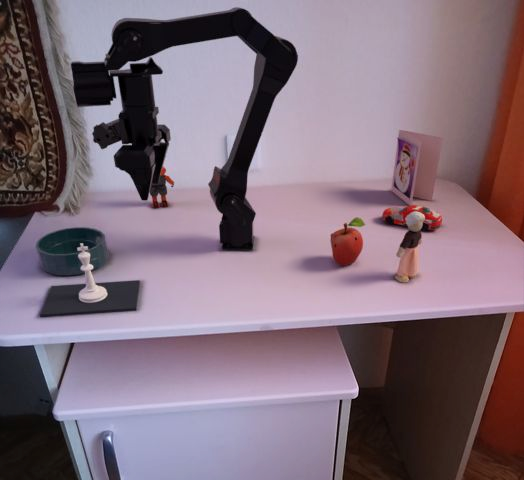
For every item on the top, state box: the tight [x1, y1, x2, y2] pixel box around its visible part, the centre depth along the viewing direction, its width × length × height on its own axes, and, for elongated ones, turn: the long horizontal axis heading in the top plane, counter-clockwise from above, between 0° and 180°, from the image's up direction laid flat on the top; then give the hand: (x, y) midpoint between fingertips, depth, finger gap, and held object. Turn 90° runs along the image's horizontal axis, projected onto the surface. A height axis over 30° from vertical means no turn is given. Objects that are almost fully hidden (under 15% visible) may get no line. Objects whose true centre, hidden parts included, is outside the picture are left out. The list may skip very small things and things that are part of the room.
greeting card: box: [390, 129, 444, 206], centre depth 131 cm, size 11×7×15 cm, turn 14°
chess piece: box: [77, 243, 107, 303], centre depth 93 cm, size 5×5×10 cm
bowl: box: [35, 226, 110, 276], centre depth 107 cm, size 13×13×4 cm
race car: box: [381, 204, 443, 232], centre depth 120 cm, size 13×5×4 cm, turn 60°
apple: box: [330, 216, 366, 267], centre depth 103 cm, size 8×7×10 cm
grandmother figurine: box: [394, 211, 425, 284], centre depth 98 cm, size 8×4×13 cm, turn 148°
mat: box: [39, 279, 141, 318], centre depth 96 cm, size 16×10×1 cm, turn 97°
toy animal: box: [149, 166, 175, 209], centre depth 128 cm, size 8×6×12 cm
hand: (150, 191), depth 103 cm, fingers open, 9 cm apart
